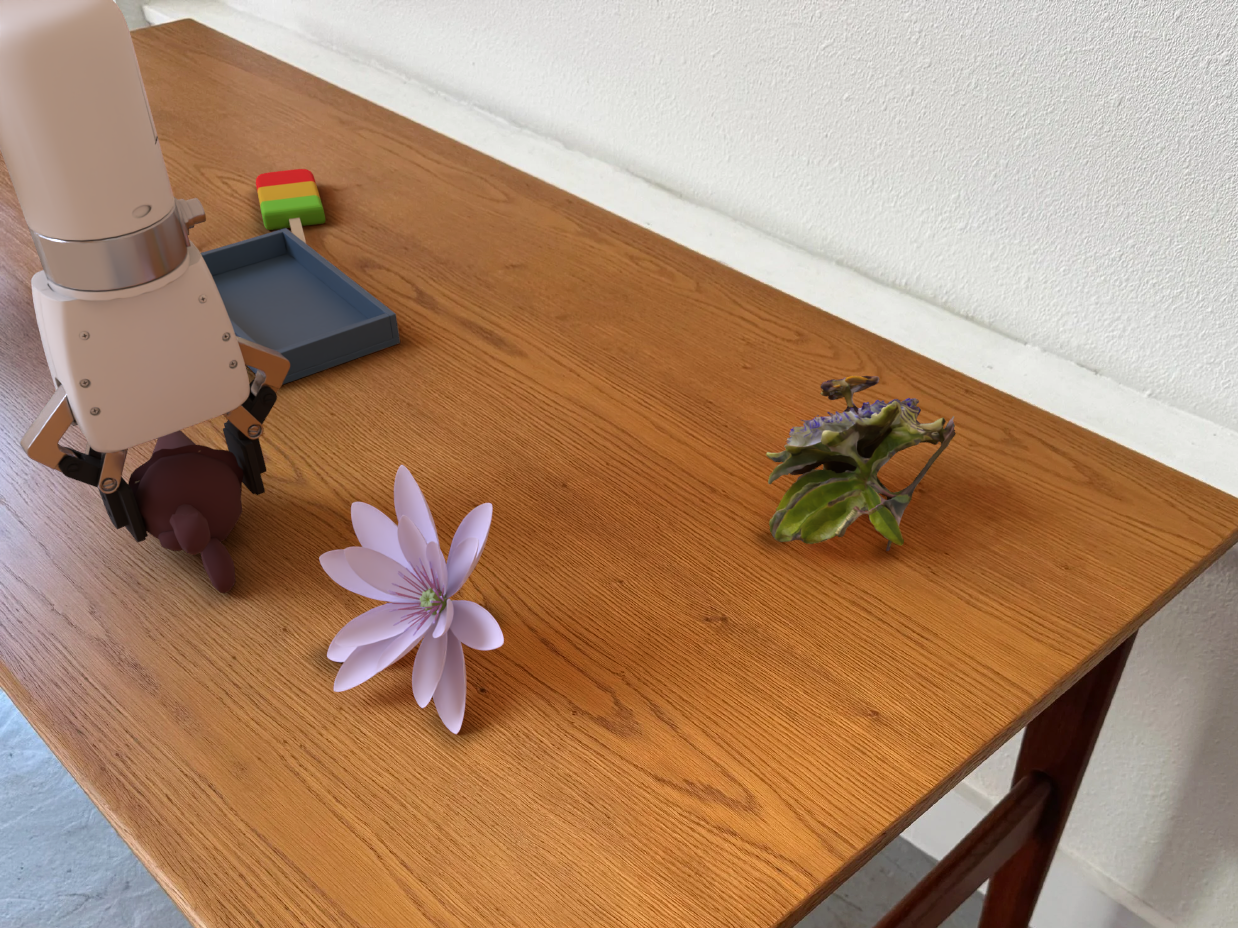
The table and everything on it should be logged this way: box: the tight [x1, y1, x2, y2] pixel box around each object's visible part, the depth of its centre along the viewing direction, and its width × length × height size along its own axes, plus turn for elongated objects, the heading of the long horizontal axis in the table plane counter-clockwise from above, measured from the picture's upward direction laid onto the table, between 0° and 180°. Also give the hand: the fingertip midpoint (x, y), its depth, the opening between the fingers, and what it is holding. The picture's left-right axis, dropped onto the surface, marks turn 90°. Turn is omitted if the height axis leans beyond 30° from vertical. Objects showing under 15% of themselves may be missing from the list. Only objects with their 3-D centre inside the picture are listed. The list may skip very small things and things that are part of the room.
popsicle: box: [255, 168, 326, 244], centre depth 113 cm, size 6×15×2 cm, turn 17°
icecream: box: [127, 430, 244, 594], centre depth 78 cm, size 7×7×15 cm
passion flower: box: [765, 375, 957, 552], centre depth 79 cm, size 11×11×12 cm
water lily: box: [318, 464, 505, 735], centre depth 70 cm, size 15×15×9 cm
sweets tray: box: [200, 228, 401, 386], centre depth 100 cm, size 11×19×3 cm, turn 38°
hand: (193, 505), depth 79 cm, fingers closed on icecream, 7 cm apart
